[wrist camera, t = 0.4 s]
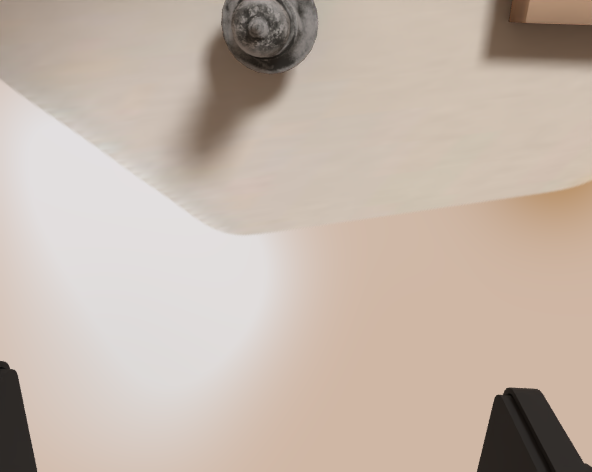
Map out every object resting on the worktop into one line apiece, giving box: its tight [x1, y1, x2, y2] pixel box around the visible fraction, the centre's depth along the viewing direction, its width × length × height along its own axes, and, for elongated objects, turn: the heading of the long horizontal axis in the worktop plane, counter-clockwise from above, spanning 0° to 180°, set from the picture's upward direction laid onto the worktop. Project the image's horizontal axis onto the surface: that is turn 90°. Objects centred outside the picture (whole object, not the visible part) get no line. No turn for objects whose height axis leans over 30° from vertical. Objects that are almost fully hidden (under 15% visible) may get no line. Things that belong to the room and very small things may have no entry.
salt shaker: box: [221, 0, 318, 74], centre depth 30 cm, size 6×6×12 cm
